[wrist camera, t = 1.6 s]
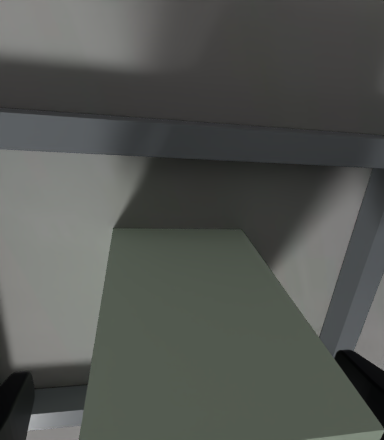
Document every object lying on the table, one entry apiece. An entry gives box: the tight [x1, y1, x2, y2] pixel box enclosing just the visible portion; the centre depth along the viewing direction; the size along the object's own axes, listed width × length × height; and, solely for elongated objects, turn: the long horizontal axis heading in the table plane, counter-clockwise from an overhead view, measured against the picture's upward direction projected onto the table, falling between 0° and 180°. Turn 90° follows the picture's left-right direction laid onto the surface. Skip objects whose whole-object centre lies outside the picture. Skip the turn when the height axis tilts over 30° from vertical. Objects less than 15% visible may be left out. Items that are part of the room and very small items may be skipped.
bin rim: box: [0, 108, 384, 431], centre depth 12 cm, size 17×13×1 cm
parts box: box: [79, 228, 384, 440], centre depth 9 cm, size 5×5×8 cm
